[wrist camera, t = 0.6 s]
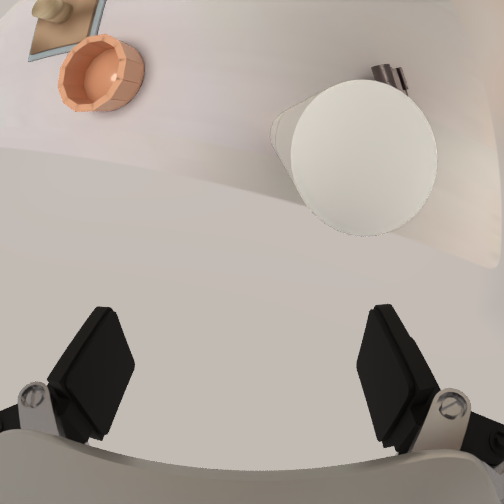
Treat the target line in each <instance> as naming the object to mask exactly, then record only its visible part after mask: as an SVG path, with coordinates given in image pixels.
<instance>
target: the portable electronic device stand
mask: <svg viewBox="0 0 504 504" xmlns="http://www.w3.org/2000/svg"><path fill="white" fill-rule="evenodd" d="M371 69H372V72H373V74H374V77H375V80H376V81H378V82H381V83H385V84H388V85H390V86H392V87H394V88H396V89H398V90H400V91H401V92H403V93H404V94H405V95H407V96H408V94H407V91H406V90H407V89H408V87H407V84H406V80H405V77H404V74H403V71H402V68H401V67H400V68H396V69H392V68H391V67H390V65H389V64H384V65H378V66H374V67H371Z"/></svg>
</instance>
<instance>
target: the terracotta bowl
mask: <svg viewBox="0 0 504 504" xmlns="http://www.w3.org/2000/svg"><path fill="white" fill-rule="evenodd" d="M143 78H144V62H143V59H142V57H141V55H140V53H139V52H138V51H137V50H136V49H135V48H133V47H131V46H129V45H127V44H126V43H124V42H122V41H120V40H118V39H116V38H113V37H111V36H109V35H107V34H101V35H95V36H90V37H87V38H86V39H84V40H83V41H81V42H80V43H79V44H77V45H76V46H75V47H74V48H72V49H71V51H70V52H69V54H68V56H67V57H66V59H65V61H64V62H63V64H62V66H61V68H60V75H59V81H58V89H59V92H60V95H61V98H62V101H63V103H64V104H66V105H67V106H68V107H70V108H71V109H73V110H74V111H75V112H89V111H113V110H116V109H119V108H121V107H122V106H124V105H126V104H127V103H128V102H129V101H131V99H132V98H133V97H134V96H135V95H136V93H137V92H138V90H139V89H140V86H141V84H142V81H143Z"/></svg>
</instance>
